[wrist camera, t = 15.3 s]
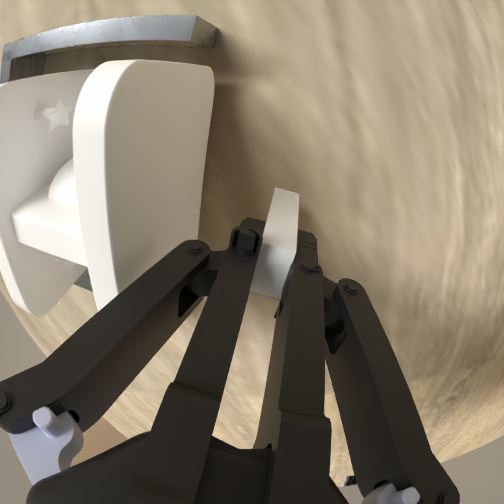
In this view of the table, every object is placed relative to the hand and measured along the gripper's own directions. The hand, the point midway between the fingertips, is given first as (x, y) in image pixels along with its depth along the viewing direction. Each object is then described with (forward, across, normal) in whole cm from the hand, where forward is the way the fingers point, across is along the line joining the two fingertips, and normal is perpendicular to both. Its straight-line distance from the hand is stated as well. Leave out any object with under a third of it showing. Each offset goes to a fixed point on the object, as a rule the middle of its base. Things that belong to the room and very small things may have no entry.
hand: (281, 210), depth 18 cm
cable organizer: (+2, -11, 0) cm, 11 cm away
